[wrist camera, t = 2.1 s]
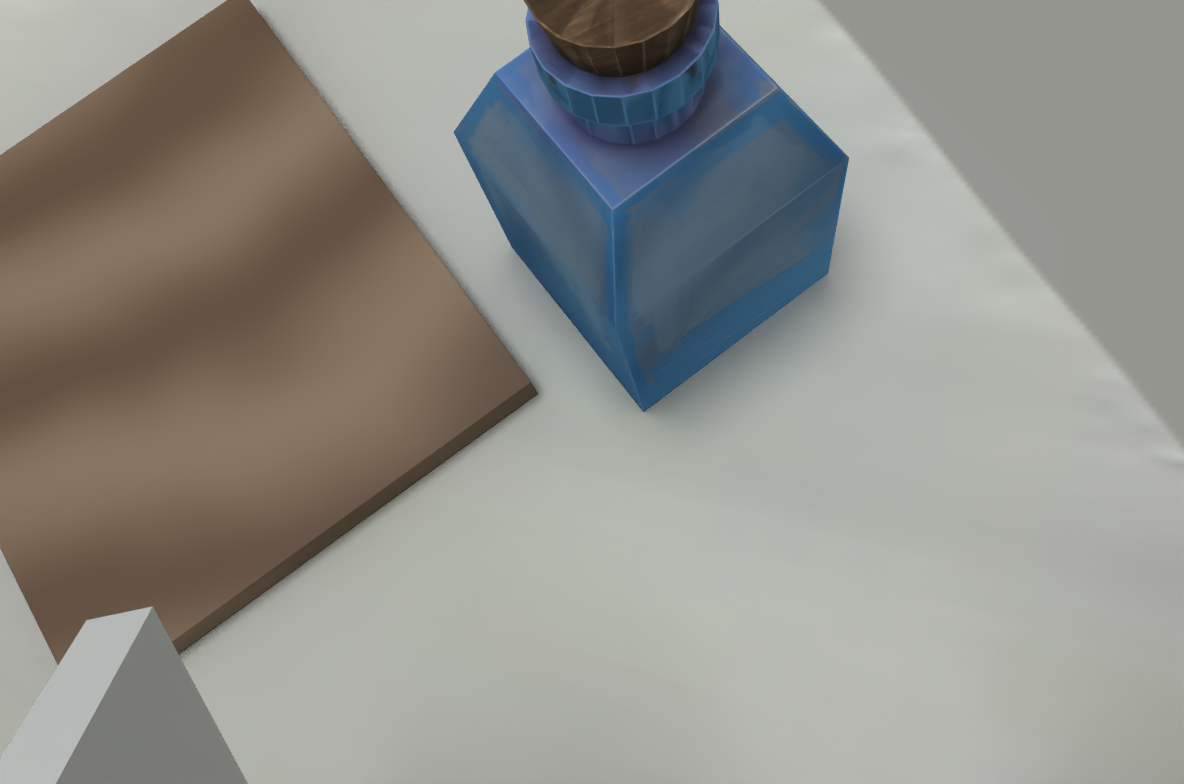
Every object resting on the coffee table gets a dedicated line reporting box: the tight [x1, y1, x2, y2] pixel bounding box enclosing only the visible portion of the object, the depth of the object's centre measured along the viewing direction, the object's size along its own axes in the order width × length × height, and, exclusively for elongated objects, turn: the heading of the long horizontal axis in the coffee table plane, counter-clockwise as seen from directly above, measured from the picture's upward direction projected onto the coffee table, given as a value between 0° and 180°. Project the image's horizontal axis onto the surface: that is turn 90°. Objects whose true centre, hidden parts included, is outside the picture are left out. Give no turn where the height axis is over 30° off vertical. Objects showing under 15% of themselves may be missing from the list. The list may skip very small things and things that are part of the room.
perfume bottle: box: [454, 0, 849, 412], centre depth 23 cm, size 6×6×12 cm
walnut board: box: [0, 0, 538, 665], centre depth 30 cm, size 16×14×1 cm
